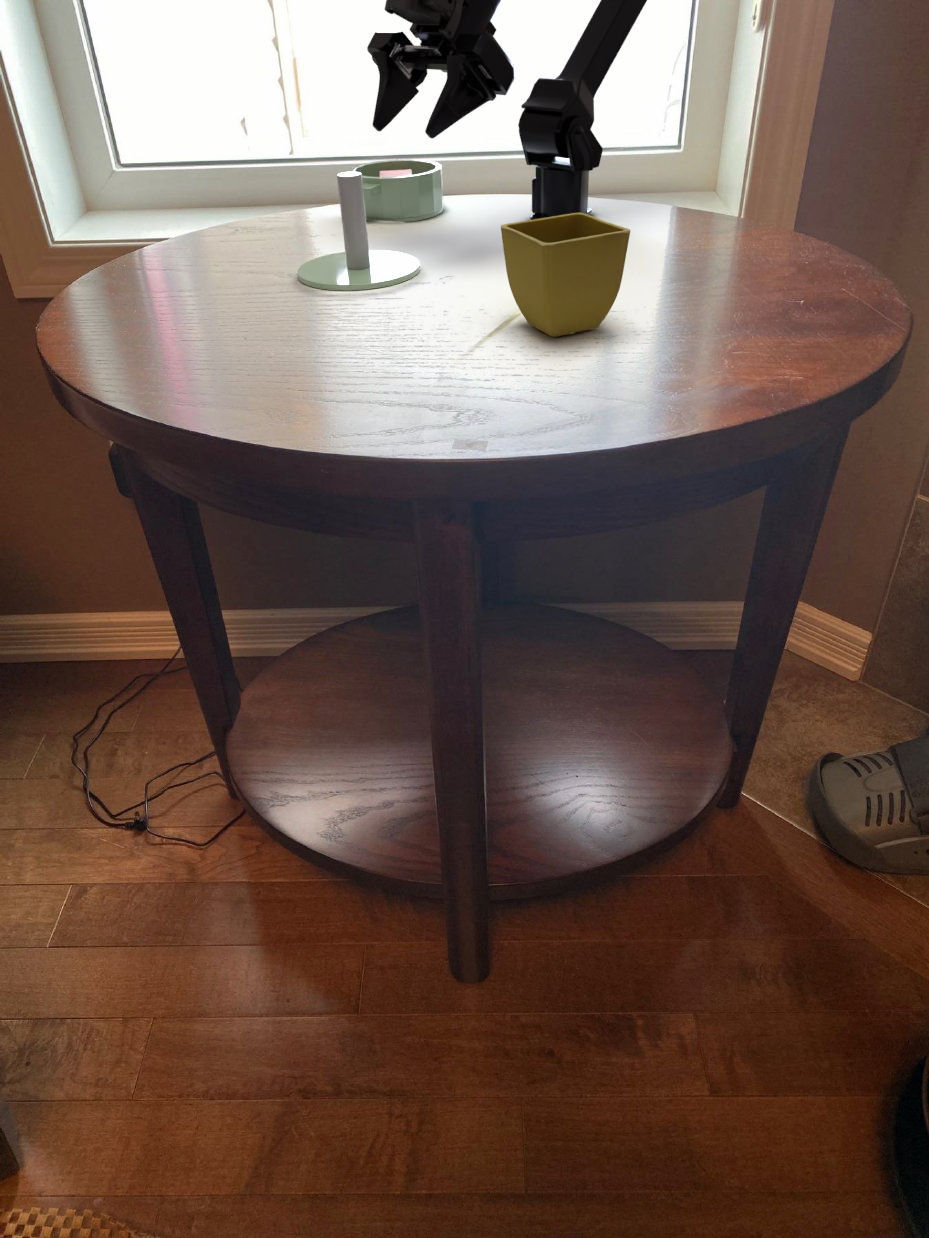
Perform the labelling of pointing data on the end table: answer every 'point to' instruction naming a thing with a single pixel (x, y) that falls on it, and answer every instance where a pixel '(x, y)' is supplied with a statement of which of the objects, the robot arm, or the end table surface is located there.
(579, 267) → the flower pot
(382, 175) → the block
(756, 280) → the end table surface
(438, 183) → the pot
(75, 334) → the end table surface
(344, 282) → the lid
